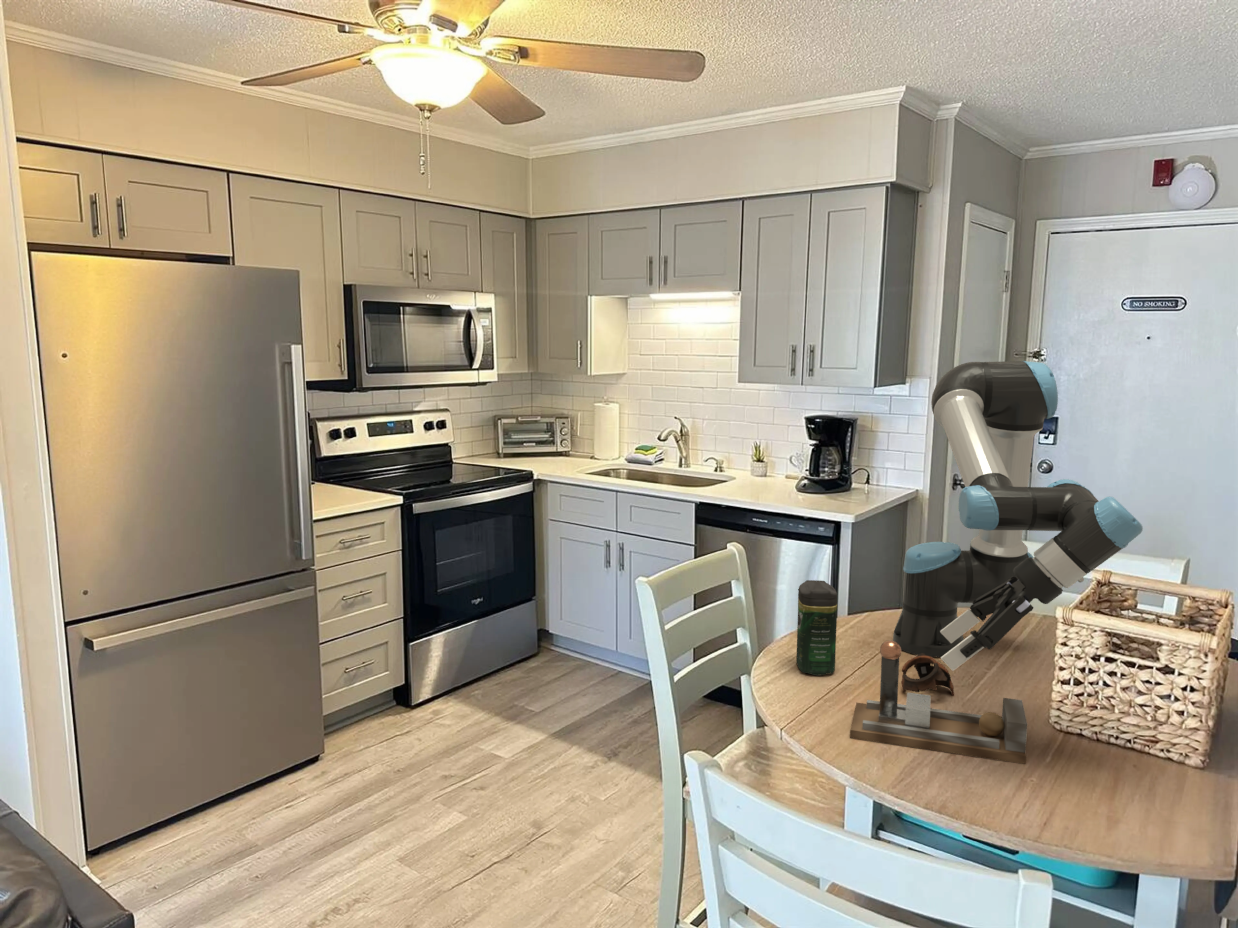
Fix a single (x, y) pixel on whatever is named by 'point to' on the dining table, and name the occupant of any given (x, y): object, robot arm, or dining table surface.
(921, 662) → the brown curved piece
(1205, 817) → the dining table surface
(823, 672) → the coffee jar
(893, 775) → the dining table surface
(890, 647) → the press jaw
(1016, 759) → the press base
